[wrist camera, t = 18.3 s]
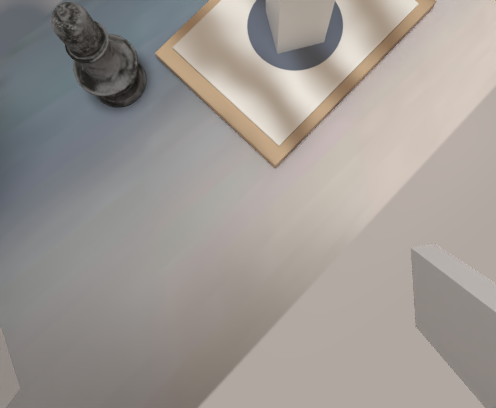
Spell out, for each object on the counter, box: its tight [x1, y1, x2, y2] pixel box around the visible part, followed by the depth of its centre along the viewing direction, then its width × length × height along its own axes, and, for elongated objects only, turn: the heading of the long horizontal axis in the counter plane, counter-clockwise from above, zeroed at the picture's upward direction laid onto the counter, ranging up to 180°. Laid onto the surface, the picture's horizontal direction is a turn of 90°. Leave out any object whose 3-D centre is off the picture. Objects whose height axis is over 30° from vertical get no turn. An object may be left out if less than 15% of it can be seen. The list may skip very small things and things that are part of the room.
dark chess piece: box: [51, 2, 146, 107], centre depth 34 cm, size 6×6×12 cm
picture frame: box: [155, 0, 436, 168], centre depth 39 cm, size 22×16×1 cm
